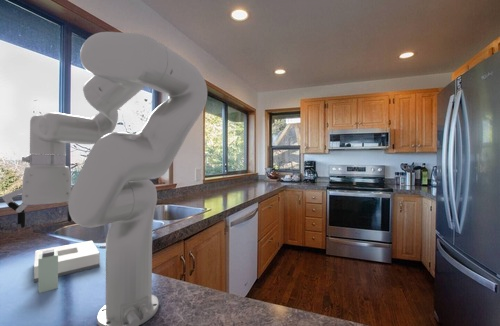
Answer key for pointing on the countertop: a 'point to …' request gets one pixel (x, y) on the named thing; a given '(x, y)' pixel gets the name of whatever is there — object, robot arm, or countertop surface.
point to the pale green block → (47, 271)
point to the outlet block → (72, 258)
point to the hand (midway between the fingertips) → (47, 223)
